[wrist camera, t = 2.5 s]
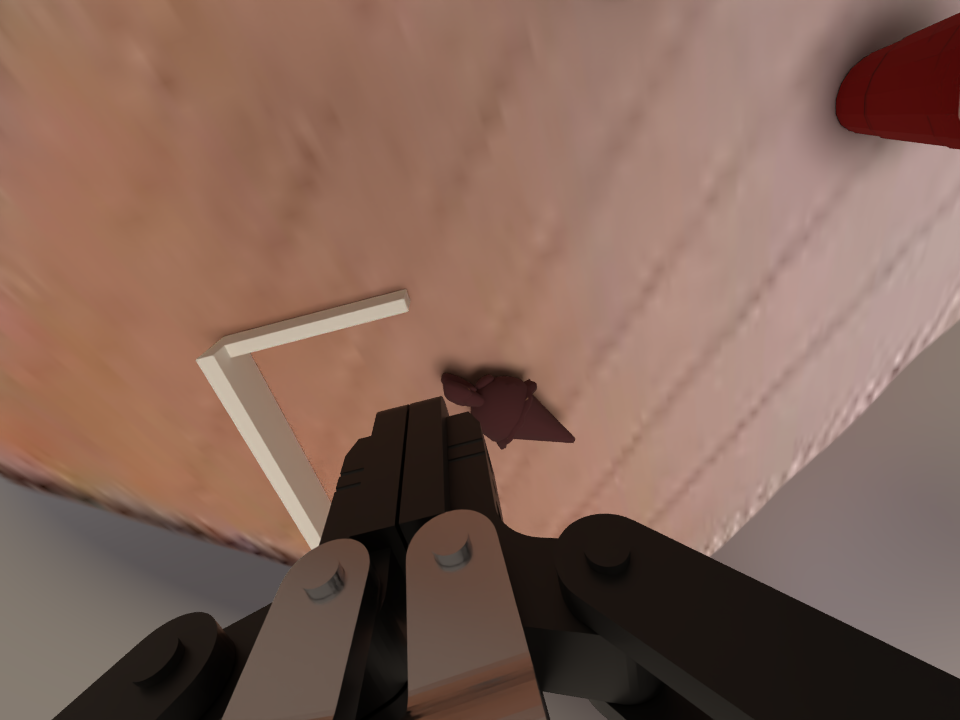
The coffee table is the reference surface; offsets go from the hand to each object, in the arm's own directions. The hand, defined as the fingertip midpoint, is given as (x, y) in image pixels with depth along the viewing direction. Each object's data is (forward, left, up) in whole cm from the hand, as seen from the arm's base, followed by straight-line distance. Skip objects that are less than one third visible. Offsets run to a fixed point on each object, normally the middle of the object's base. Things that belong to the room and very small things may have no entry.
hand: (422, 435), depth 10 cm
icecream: (-3, +18, -30) cm, 35 cm away
